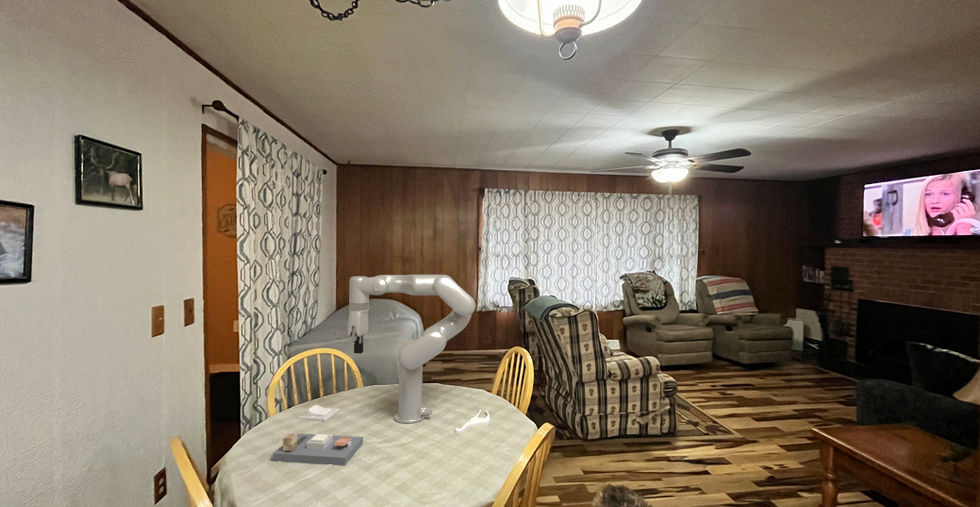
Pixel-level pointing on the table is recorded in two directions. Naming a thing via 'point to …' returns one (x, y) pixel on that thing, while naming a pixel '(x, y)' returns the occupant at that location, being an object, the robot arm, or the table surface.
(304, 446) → the switch panel
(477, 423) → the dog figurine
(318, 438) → the push button
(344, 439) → the rocker paddle
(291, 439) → the slider knob
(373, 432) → the table surface
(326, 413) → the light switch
